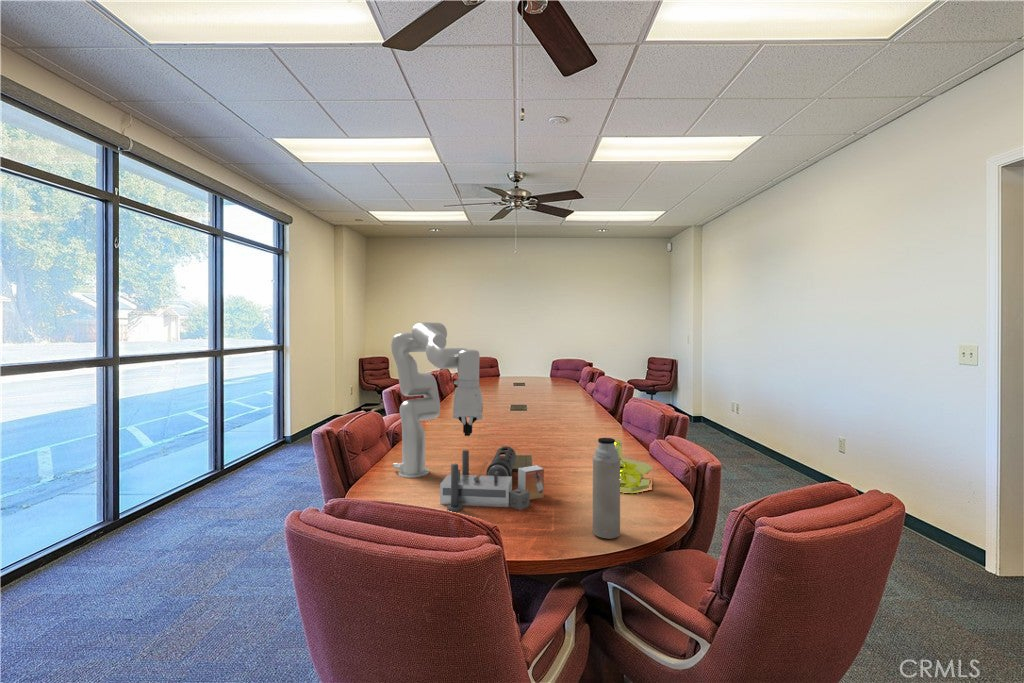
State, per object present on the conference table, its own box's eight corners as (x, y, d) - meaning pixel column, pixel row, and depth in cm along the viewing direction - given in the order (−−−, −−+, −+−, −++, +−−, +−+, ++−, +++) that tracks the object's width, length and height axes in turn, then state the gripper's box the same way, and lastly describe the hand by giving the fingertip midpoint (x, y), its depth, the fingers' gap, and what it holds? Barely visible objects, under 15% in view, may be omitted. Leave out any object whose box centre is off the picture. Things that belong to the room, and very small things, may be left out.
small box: (525, 501, 155) (525, 471, 155) (517, 496, 160) (517, 467, 160) (544, 497, 159) (544, 468, 159) (536, 492, 164) (536, 464, 164)
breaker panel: (439, 504, 152) (439, 475, 152) (447, 493, 163) (447, 466, 163) (508, 507, 150) (508, 478, 149) (511, 495, 161) (512, 468, 161)
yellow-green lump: (602, 491, 166) (602, 450, 166) (608, 471, 190) (608, 435, 189) (653, 496, 160) (653, 454, 160) (653, 476, 184) (653, 438, 184)
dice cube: (508, 506, 151) (508, 492, 151) (518, 502, 154) (518, 488, 154) (519, 510, 147) (519, 495, 147) (529, 506, 151) (529, 491, 151)
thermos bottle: (594, 525, 136) (594, 434, 135) (621, 528, 133) (621, 436, 133) (590, 536, 128) (590, 440, 128) (618, 540, 125) (618, 442, 125)
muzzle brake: (516, 469, 194) (516, 445, 193) (510, 491, 166) (510, 464, 166) (495, 468, 194) (495, 445, 194) (485, 490, 167) (485, 463, 166)
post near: (445, 511, 146) (445, 466, 146) (449, 505, 151) (449, 462, 151) (460, 512, 145) (460, 467, 145) (463, 506, 150) (463, 462, 150)
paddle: (472, 479, 155) (484, 460, 154) (475, 476, 159) (486, 457, 158) (476, 482, 154) (488, 463, 154) (478, 478, 158) (490, 459, 158)
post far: (457, 492, 164) (457, 452, 164) (460, 487, 169) (460, 449, 169) (470, 493, 163) (470, 452, 163) (473, 488, 168) (473, 449, 168)
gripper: (445, 384, 154) (444, 436, 154) (487, 386, 152) (486, 438, 153) (450, 382, 161) (449, 431, 162) (490, 383, 159) (489, 433, 160)
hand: (467, 435), depth 157 cm, fingers closed
